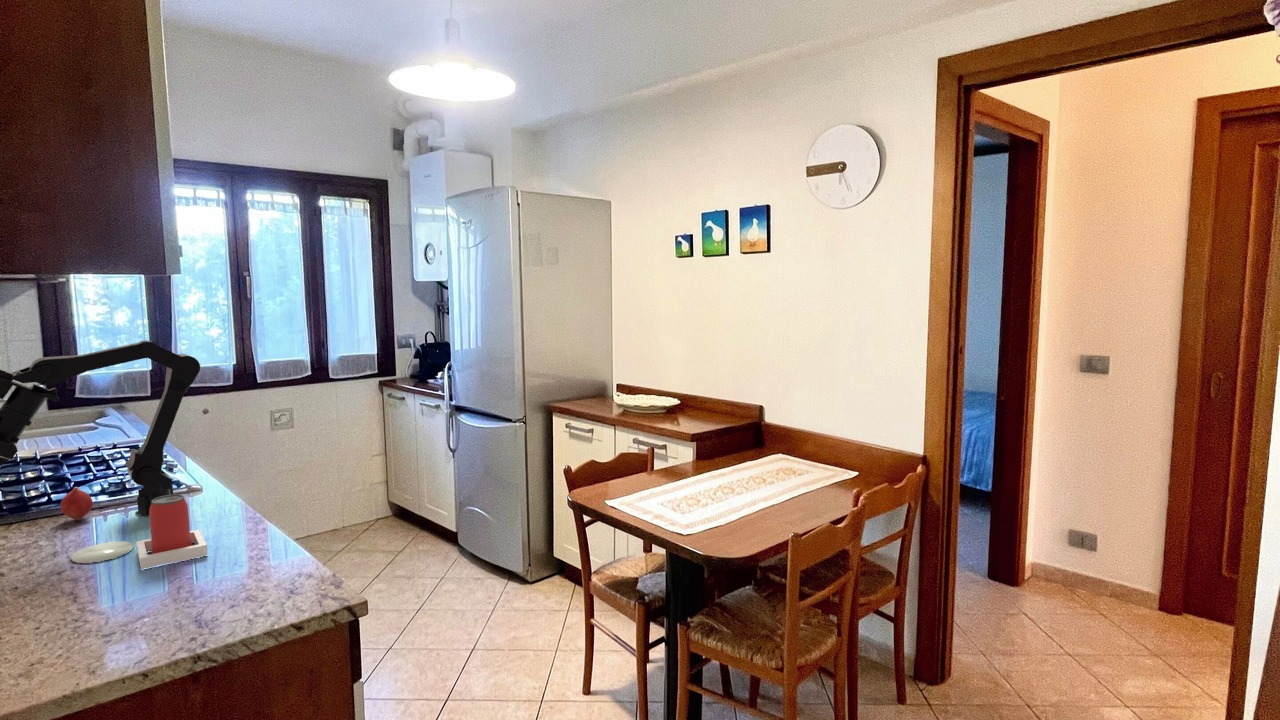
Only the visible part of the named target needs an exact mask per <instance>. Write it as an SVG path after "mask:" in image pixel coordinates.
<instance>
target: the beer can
mask: <svg viewBox="0 0 1280 720" xmlns="http://www.w3.org/2000/svg"><path fill="white" fill-rule="evenodd" d="M151 503H152V504H151V506H150V509H149V516H148V517H149V528H150V530H149V531H150V539H151V542H152V552H151V553H152V554H155V553H160V552H165V551H170V550H174V549H179V548H184V547H189V546H192V544H191V539H190V531H191V528H190V514H189V505H188V503H187V501H186V499H185V496H184V495H183V494H173V495H166V496H161V497H158V498H155V499H153V500H152V501H151Z"/></svg>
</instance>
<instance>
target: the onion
mask: <svg viewBox="0 0 1280 720" xmlns="http://www.w3.org/2000/svg"><path fill="white" fill-rule="evenodd" d="M93 501H94V500H93V499H92V497H91V495H89V493H87V492H86V491H83V490H81V489H79V487H78V486H75V487H73V489H72V490H71V491H70V492H68V493H66V494H65V496H64V497H63V498H62V500H61V501H60V507H59V508H60V511H61V512H62V514H63V515H65V516H67V517H68V518H71V519H72V520H75V521H80V520H82V519H83V518H84V517H85V516H86V515H87V514H89V512H90V511H91V510H92V509H93V507H94V502H93Z"/></svg>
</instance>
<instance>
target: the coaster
mask: <svg viewBox="0 0 1280 720" xmlns="http://www.w3.org/2000/svg"><path fill="white" fill-rule="evenodd" d="M132 548H133V549H134V544H133V543H132V542H129V541H121V540H120V541H119V540H118V541H108V542H103V543H98V544H94V545H89V546H87V547H84V548H82V549H79V550H77V551H76V552H74V553H72V554H71V562H72V563H74V562H76V563H75V564H79V563H89V564H91V563H90V562H98V561H103V562H105V561H104V560H108V559H112V558H115V557H118V556H121V555H123V554H125V553H127V552H128V551H130V550H131V549H132ZM121 557H122V556H121ZM118 558H119V557H118ZM115 559H116V558H115ZM112 560H113V559H112ZM108 561H109V560H108ZM98 563H99V562H98Z"/></svg>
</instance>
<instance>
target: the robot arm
mask: <svg viewBox="0 0 1280 720" xmlns="http://www.w3.org/2000/svg"><path fill="white" fill-rule="evenodd" d="M142 359H149V360H151V361H154V362H156V363H157V364H159V365H162V366H164V367H166V370H165V371H166V372H165V380H164V381H165V383H164V389H163V393H162V395H161V397H160V401H159V403H158V406H157V408H156V412H155V413H154V415H153V419H152V421H151V424H150V427H149V429H148V431H147V434H146V437H145V439H144V442H143V444H141V446H140V447H139V449H135V448H131V450H130V454H129V458H128V460H127V461H126V462H125V464H124V465H125V466H126V468H127V470H126V471H127V474H128V476H129V477H130V479H131V480H132V482H133V483H134V484H136V485H138V486H142V487H141V488H139V489H138V490H137V492H138V493H137V494H138V496H137V497H136V501H137V511H135V512H134V513H135V515H141V516H145V517H149V509H150V506H151V504H152V503H151V501H152V500H153V499H155V498H158V497H161V496H166V495H174V487H173V486H174V485H173V479H172V478H171V477H170V476H169V474H167V473H166V472H165V471H164V470H162V468H163V462H164V461H163V460H164V448H165V445H166V442H167V440H168V438H169V435H170V433H171V429H172V427H173V423H174V421H175V419H176V416H177V413H178V411H179V408H180V405H181V402H182V401H183V399H184V398H183V397H184V396H185V395H184V394H185V393H186V392H187V390H189V389H190V387H191V386H192V385H193V383H194V382H195V379H196V378H197V377H198V375H199V373H200V371H201V364H200V362H199V360H198V359H197V358H196V357H194V356H191V355H189V354H186V353H174V352H172V351H170V350H168V349H166V348H164V347H162V346H161V345H158V344H156V343H155V342H153V341H151V340H147V339H146V340H141V341H139V342H136V343H131V344H127V345H126V344H125V345H122V346H121V345H120V346H117V347H111V348H107V349H103V350H99V351H94V352H93V351H92V352H89V353H83V354H79V355H76V354H75V355H58V356H54V355H53V356H45V357H40V358H37V359H35V360H33V361H32V362H31V363H30V366H27V367H25V368H22V369H19V370H18V369H17V370H16V371H13V372H10V371H7V370H4V369H1V368H0V400H3V399H4V398H5V397H6V396H7V394H8V393H9V391H10V390H11V389H12V387H13V386H14V387H15V388H14V389H13V390H12V391H11V393H10V394H9V396H8V397H7V399H6V400H5V401H4V403H3V404H2V405H1V407H0V467H1V466H2V465H3V464H5V463H7V462H9V461H10V460H13V459H14V457H15V455H16V454H17V453H18V447H17V443H18V442H19V441H20V437H21V436H22V434H23V433H24V432H25V430H26V429H27V427H29V426H30V425H31V424H32V423H33V421H32V420H33V419H34V418H35V416H36V415H37V413H38V412H39V410H40V409H41V407H43V405H44V403H45V402H46V401H47V399H49V400H52V401H55V402H59V401H60V398H59V396H58V394H57V392H58V391H57V388H56V387H53V388H50V389H48V388H45V387H42V386H55V385H57V384H60V383H62V382H65V381H67V380H70V379H73V378H75V377H77V376H79V375H81V374H85V373H87V372H91V371H94V370H100V369H103V368H107V367H111V366H117V365H122V364H125V363H130V362H134V361H138V360H142ZM31 383H34V384H31ZM35 383H36V384H35ZM25 384H31V386H27V385H25ZM40 385H42V386H40Z"/></svg>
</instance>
